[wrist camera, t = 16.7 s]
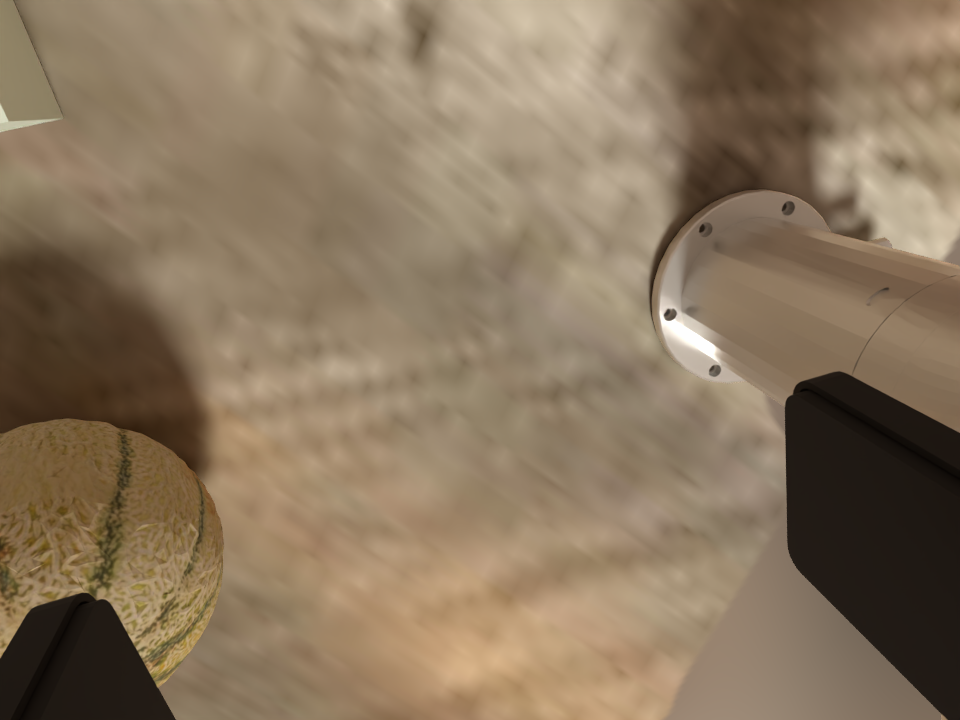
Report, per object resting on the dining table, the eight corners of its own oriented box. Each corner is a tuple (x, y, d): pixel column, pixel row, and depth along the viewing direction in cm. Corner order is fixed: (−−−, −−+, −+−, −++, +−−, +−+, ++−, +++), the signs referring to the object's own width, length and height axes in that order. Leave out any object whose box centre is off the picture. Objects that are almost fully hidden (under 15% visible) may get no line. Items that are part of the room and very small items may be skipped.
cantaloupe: (-64, 383, 35) (-318, 562, 21) (227, 369, 38) (168, 519, 24) (0, 605, 40) (-171, 863, 27) (251, 578, 43) (214, 798, 30)
